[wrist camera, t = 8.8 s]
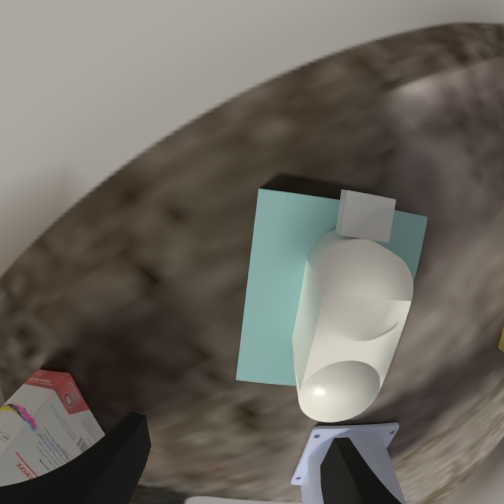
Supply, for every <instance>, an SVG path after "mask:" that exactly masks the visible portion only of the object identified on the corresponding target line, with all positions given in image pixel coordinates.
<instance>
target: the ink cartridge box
mask: <svg viewBox="0 0 504 504" xmlns="http://www.w3.org/2000/svg"><path fill="white" fill-rule="evenodd" d="M104 436H105V434H104V432H103V431H102V429H101V427H100V426H99V424H98V423H97V421H96V419H95V418H94V416H93V414H92V413H91V411H90V409H89V407H88V406H87V404H86V402H85V400H84V399H83V397H82V395H81V393H80V391H79V389H78V387H77V386H76V384H75V382H74V380H73V378H72V376H71V375H70V373H65V372H56V371H47V370H40V369H38V370H37V371H36V372H35V373H34V374H33V375H32V376H31V377H30V378H29V379H28V380H27V381H26V382H25V383H24V384H23V385H22V386H21V387H20V388H19V389H18V390H17V391H16V393H15V394H14V395H13V396H12V397H11V398H10V399H9V400H8V401H7V402H6V403H5V404H4V405H3V406H2V407H1V408H0V486H6V485H11V484H16V483H20V482H23V481H26V480H29V479H32V478H35V477H38V476H41V475H43V474H46V473H48V472H50V471H52V470H54V469H56V468H58V467H60V466H62V465H64V464H66V463H67V462H69V461H71V460H72V459H74V458H76V457H77V456H79V455H80V454H81V453H83V452H84V451H86V450H87V449H88V448H90V447H91V446H92V445H94V444H95V443H96V442H97V441H99V440H100V439H101V438H102V437H104Z"/></svg>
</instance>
